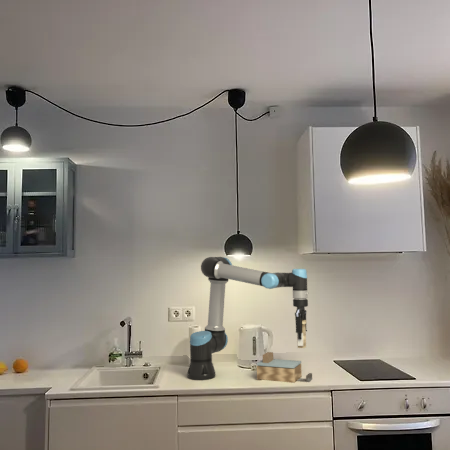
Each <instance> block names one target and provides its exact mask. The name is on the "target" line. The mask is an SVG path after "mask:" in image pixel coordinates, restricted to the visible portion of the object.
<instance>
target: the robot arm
mask: <svg viewBox="0 0 450 450" xmlns="http://www.w3.org/2000/svg"><path fill="white" fill-rule="evenodd" d="M200 271H201V273H202V275H203V276H204V277H207V280H208V282H209V283H210V288H209V290H210V291H209V301H208V302H209V303H208V315H207V325H206V326H204V330H199V331H195V332H193V333H191V335H190V336H189V337H190V338H189V354H190V355H189V356H190V360H189V361H190V362H189V366H188V371H187V373H186V374H187V378H188V379H189V380H192V381H193V380H194V381H203V380H206V381H207V380H211V379H214V378H215V377H216V370H215V367H214V363H213V354H215V353H219V352H221V351H222V350H224V349H226V346H227V345H228V341H229V339H228V335H227V333H226V328H225V327H224V325H223V324H224V308H225V299H226V298H225V296H226V284H227V283H228V282H229V280H232V281H237V282H239V283H241V282H242V283H246V284H250V285H256V286H259V287H263V288H265V289H269V290H271V289H278V288H292V298H293V299H292V306H293V307H295V308H296V310H295V312H294V316H295V317H294V319H295V333H296V335H297V334H298V344H297V347H298V346H303V333H302V321H303V320H306V321H307V310H306V309H305V308H306V307H309V303H308V302H309V301H308V298H309V297H308V295H309V292H308V274H307V272H308V271H307V269H306V268H293V269H292V270H291V272H268V271H267V272H266V271H262V270H257V269H254V268H253V269H252V268H247V267H244V266H238V265H237V266H236V265H233V264H232V261H230V259H228V258H227V257H224V256H209V257H205V258H204V259H203V261H202V262H201V264H200ZM305 325H306V326H307V323H306V324H305ZM306 332H308V330H307V329H306Z"/></svg>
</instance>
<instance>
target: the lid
mask: <svg viewBox="0 0 450 450" xmlns="http://www.w3.org/2000/svg"><path fill="white" fill-rule="evenodd" d="M299 364H302V360H292V359H279V358H274V352H273V351H267V352H265V353H263V354H262V360H260V361H258V362H257V363H256V366H271V367H284V368H295V367H296V366H298V365H299Z"/></svg>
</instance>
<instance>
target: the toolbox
mask: <svg viewBox="0 0 450 450" xmlns="http://www.w3.org/2000/svg"><path fill="white" fill-rule="evenodd" d="M302 371H303V370H302V363H300V364H299V365H298V366H296V367H295V368H284V367H271V366H258V365H256V380H257V381H271V382H281V383H291V384H292V383H293V384H295V383H296V382H300V383H301V382H303V383H310V382H311V381H312V380H313V373H312V372H308V373H307V374H306V375H305V378H302V376H303V373H302Z"/></svg>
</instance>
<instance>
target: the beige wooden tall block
mask: <svg viewBox="0 0 450 450" xmlns="http://www.w3.org/2000/svg"><path fill="white" fill-rule="evenodd" d="M305 324H306V325H305ZM306 330H307V319H306V320H303V321H302V333H303V346H298V334H297V333H296V335H297V336H296V337H297V341H296V342H297V349H305V348H307V335H306V334H307V333H306V332H307V331H306Z"/></svg>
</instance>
